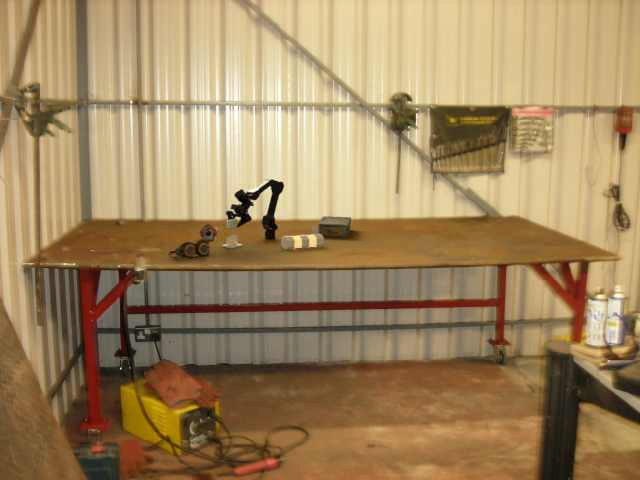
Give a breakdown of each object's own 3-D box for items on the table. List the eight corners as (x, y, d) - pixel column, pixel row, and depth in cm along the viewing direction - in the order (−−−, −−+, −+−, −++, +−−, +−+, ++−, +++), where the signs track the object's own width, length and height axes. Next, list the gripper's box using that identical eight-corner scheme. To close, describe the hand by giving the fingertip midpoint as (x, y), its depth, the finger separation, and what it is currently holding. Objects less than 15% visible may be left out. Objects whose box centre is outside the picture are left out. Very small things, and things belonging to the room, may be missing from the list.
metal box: (351, 230, 479) (351, 216, 477) (348, 238, 447) (348, 224, 445) (322, 229, 481) (322, 216, 479) (317, 237, 449) (317, 223, 447)
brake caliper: (199, 238, 429) (199, 221, 434) (199, 245, 439) (199, 229, 444) (217, 237, 431) (216, 221, 436) (217, 245, 441) (216, 229, 446)
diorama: (317, 244, 427) (317, 224, 424) (323, 247, 418) (324, 227, 415) (281, 247, 417) (281, 227, 414) (287, 250, 408) (287, 229, 405)
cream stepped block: (233, 244, 423) (233, 234, 422) (242, 245, 418) (242, 235, 417) (222, 246, 415) (221, 236, 414) (230, 248, 410) (230, 238, 409)
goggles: (195, 247, 411) (195, 232, 408) (221, 254, 396) (220, 237, 394) (163, 255, 392) (163, 239, 390) (189, 262, 378) (188, 245, 375)
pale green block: (234, 227, 418) (234, 219, 417) (237, 227, 416) (237, 219, 415) (226, 228, 412) (226, 220, 411) (229, 229, 411) (229, 220, 410)
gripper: (227, 197, 421) (214, 217, 414) (248, 200, 409) (235, 220, 403) (236, 208, 428) (224, 227, 422) (257, 211, 417) (245, 231, 411)
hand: (232, 226), depth 414 cm, fingers open, 9 cm apart
